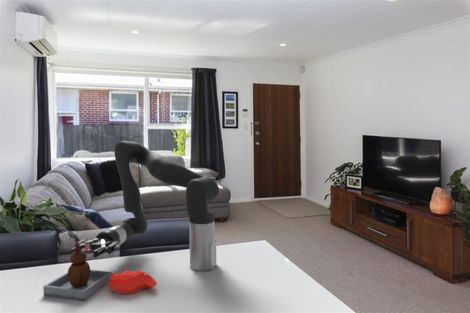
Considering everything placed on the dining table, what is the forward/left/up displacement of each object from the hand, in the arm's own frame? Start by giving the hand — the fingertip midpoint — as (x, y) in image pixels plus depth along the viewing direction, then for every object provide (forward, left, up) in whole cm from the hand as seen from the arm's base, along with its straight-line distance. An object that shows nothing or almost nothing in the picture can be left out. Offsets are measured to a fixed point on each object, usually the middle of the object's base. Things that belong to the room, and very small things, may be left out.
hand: (82, 253), depth 115 cm
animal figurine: (-17, -2, -11) cm, 21 cm away
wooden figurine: (0, +2, -10) cm, 10 cm away
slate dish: (0, +2, -11) cm, 11 cm away
